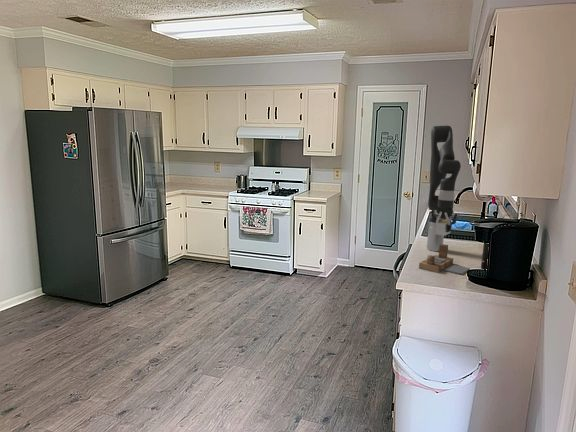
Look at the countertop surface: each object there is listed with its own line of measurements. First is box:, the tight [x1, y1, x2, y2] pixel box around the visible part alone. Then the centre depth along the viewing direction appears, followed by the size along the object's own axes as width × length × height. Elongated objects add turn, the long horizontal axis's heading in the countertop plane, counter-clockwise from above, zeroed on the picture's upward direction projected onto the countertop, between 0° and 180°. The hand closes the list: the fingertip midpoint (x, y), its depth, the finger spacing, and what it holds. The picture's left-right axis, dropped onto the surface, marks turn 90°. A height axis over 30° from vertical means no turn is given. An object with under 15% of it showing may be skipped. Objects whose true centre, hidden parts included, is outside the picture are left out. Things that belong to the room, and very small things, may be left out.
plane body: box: [418, 243, 454, 273], centre depth 228 cm, size 22×10×10 cm, turn 140°
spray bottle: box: [480, 242, 489, 271], centre depth 221 cm, size 10×10×25 cm
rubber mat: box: [443, 264, 471, 276], centre depth 222 cm, size 12×9×1 cm
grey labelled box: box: [435, 219, 451, 237], centre depth 224 cm, size 8×5×7 cm, turn 139°
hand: (442, 230), depth 224 cm, fingers closed on grey labelled box, 5 cm apart
